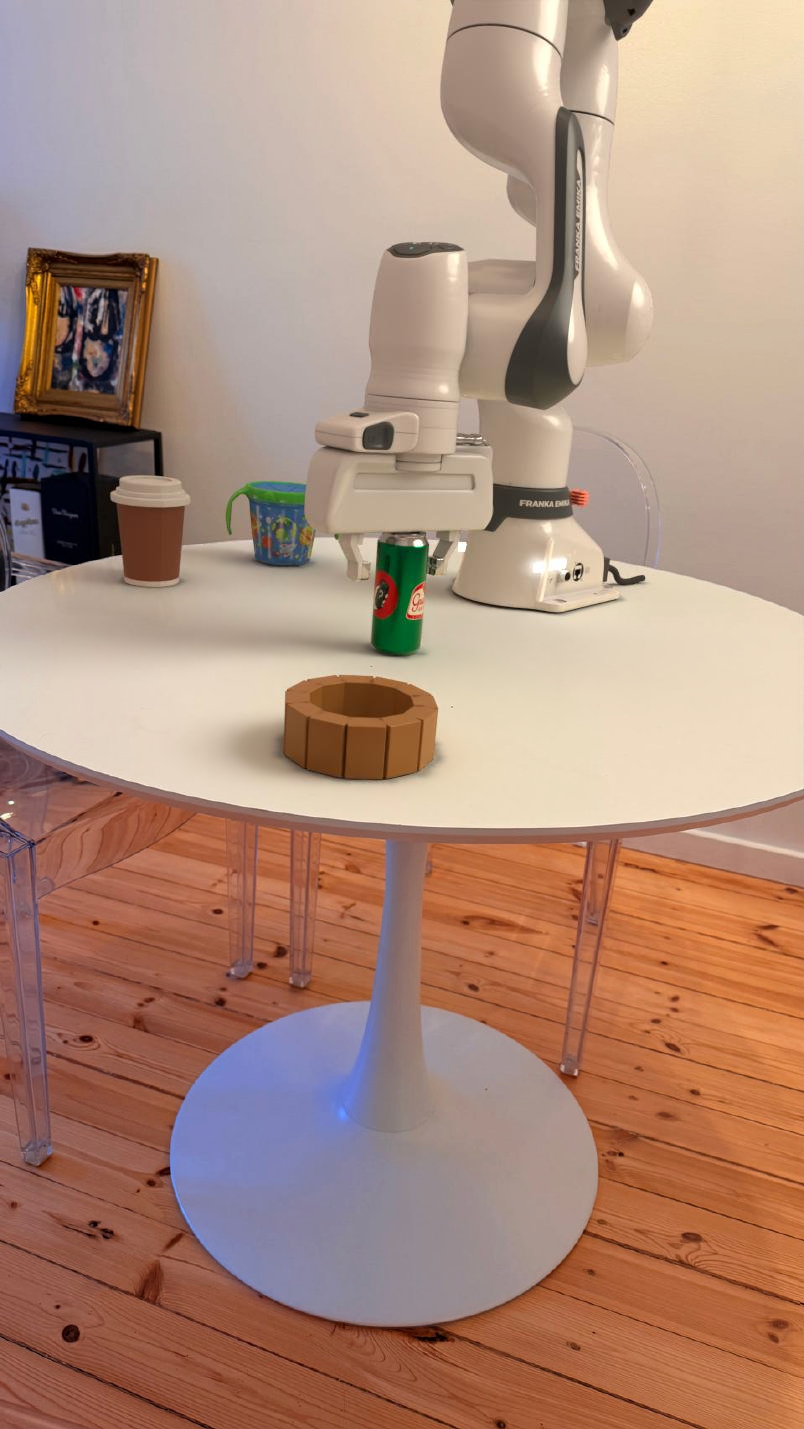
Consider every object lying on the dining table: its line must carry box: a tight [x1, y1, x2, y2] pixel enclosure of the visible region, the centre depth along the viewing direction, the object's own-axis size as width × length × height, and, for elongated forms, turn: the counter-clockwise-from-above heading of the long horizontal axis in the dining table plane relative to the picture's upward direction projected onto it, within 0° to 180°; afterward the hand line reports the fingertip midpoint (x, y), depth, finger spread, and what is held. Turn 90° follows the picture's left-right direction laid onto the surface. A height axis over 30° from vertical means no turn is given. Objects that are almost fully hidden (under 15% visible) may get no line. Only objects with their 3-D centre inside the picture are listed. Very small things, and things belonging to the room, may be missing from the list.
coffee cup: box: [110, 474, 192, 588], centre depth 117 cm, size 9×9×12 cm
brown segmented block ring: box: [283, 674, 439, 780], centre depth 74 cm, size 11×11×4 cm
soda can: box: [370, 531, 430, 657], centre depth 98 cm, size 5×5×12 cm
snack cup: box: [225, 480, 339, 566], centre depth 133 cm, size 16×10×10 cm
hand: (397, 577), depth 97 cm, fingers open, 8 cm apart
